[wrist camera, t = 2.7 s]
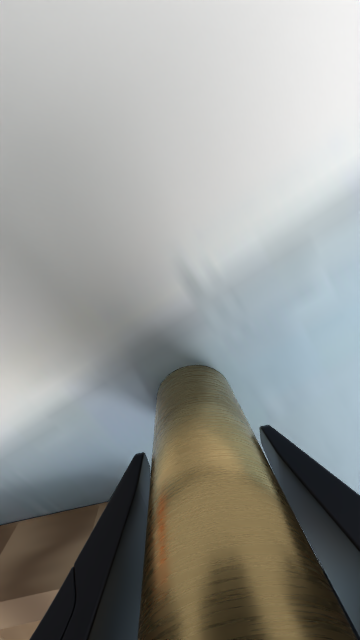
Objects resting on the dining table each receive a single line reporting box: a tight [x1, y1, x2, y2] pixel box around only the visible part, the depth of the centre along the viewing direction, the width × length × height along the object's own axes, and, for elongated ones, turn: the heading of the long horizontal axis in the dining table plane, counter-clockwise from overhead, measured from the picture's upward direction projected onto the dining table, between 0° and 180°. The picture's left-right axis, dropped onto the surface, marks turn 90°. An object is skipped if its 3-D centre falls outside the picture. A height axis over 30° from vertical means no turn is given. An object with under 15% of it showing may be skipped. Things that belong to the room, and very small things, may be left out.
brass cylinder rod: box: [138, 365, 357, 640], centre depth 7 cm, size 4×4×9 cm
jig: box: [0, 502, 108, 640], centre depth 12 cm, size 14×11×5 cm
